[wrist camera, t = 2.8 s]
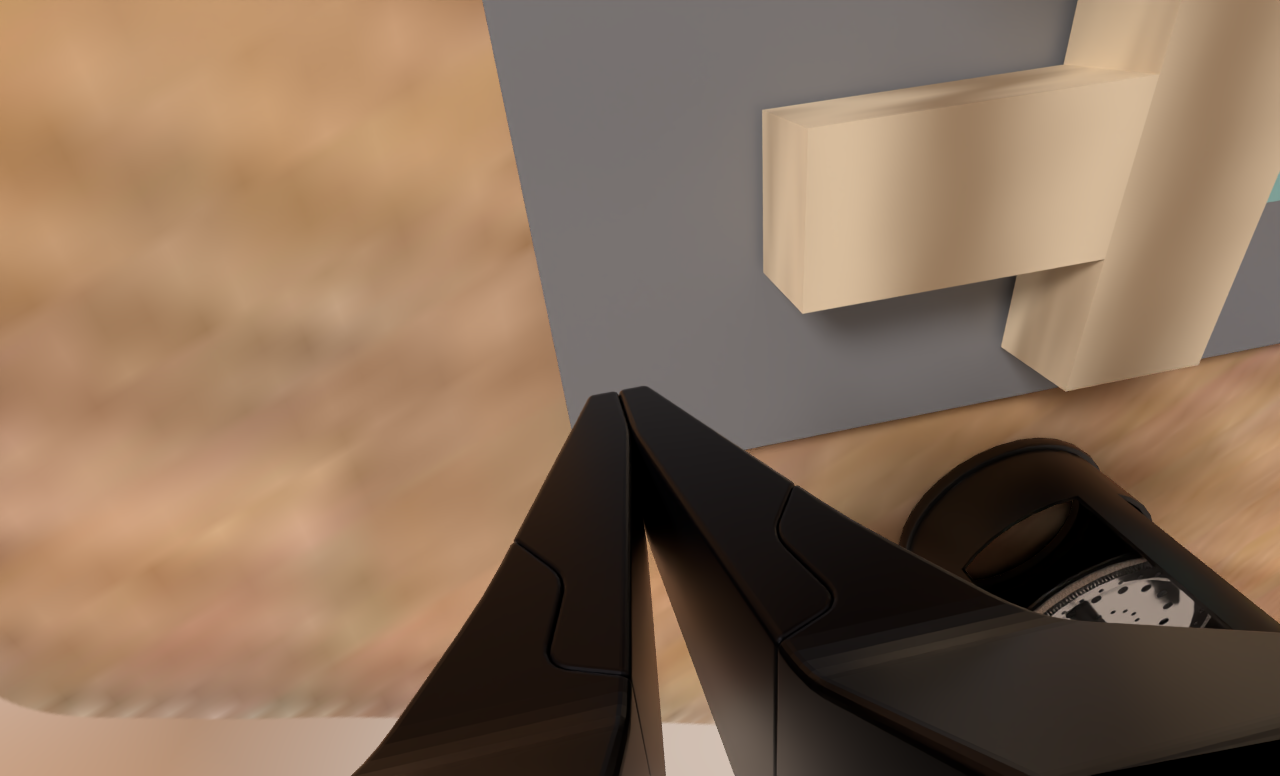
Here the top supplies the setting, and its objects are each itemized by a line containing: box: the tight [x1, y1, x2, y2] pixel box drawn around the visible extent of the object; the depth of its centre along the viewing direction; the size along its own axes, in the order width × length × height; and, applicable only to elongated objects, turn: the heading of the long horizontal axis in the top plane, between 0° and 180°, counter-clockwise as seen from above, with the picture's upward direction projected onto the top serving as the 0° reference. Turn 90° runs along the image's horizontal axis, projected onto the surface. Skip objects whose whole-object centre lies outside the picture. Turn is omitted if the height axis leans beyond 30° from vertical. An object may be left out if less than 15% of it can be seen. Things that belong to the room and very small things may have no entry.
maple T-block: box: [762, 0, 1280, 392], centre depth 17 cm, size 13×13×3 cm
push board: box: [482, 0, 1280, 450], centre depth 19 cm, size 36×18×1 cm, turn 97°
